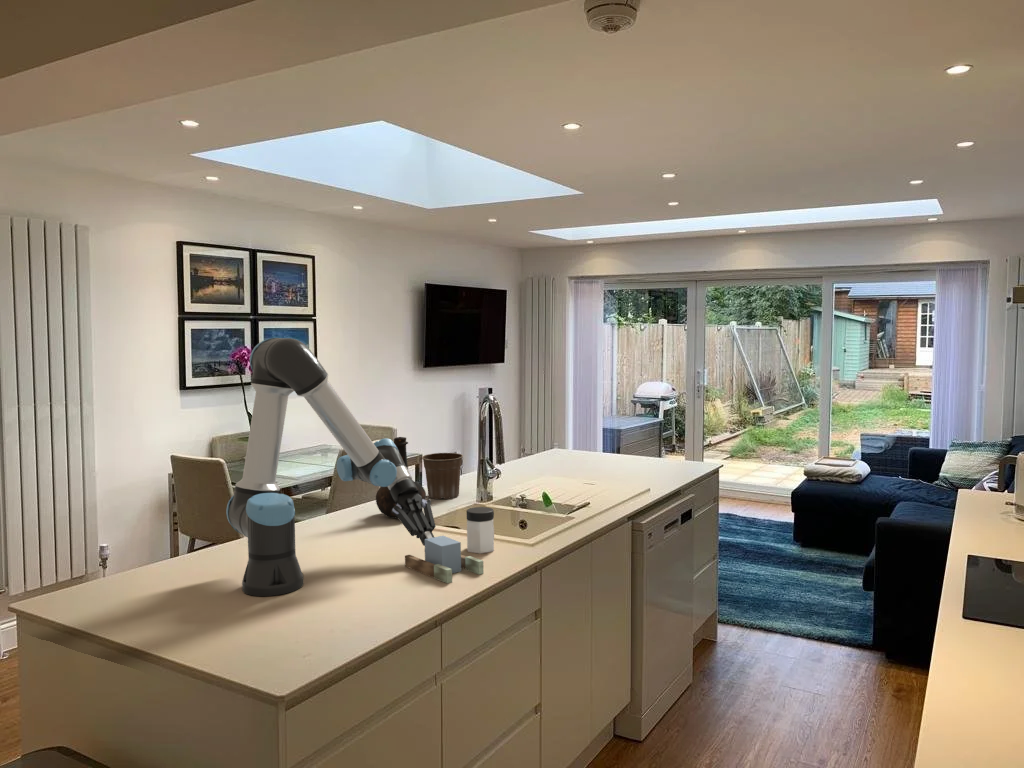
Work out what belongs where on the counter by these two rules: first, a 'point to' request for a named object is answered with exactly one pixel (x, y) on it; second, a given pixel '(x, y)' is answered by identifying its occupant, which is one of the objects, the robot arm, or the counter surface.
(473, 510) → the jar
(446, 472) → the plant pot
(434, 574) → the chute
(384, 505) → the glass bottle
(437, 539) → the block
